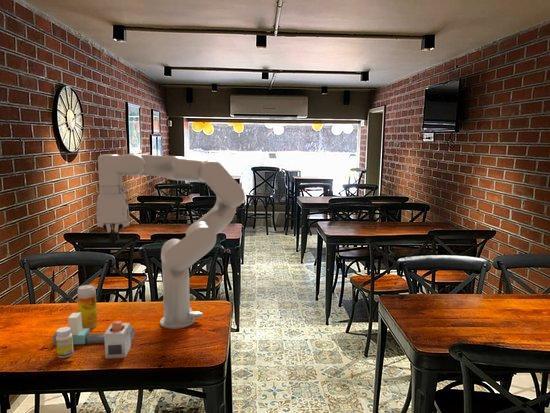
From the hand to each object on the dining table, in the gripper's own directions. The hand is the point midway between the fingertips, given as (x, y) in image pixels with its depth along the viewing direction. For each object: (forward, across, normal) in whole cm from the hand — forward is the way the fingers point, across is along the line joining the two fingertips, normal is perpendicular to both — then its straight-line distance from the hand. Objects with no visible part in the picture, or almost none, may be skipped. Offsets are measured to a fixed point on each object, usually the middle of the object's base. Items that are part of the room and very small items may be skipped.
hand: (114, 242), depth 152 cm
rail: (+32, +6, +8) cm, 34 cm away
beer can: (+32, +12, -5) cm, 35 cm away
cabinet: (+32, -4, +17) cm, 37 cm away
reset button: (+26, -4, +17) cm, 31 cm away
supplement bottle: (+32, +12, +17) cm, 38 cm away
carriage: (+32, +12, +8) cm, 35 cm away
